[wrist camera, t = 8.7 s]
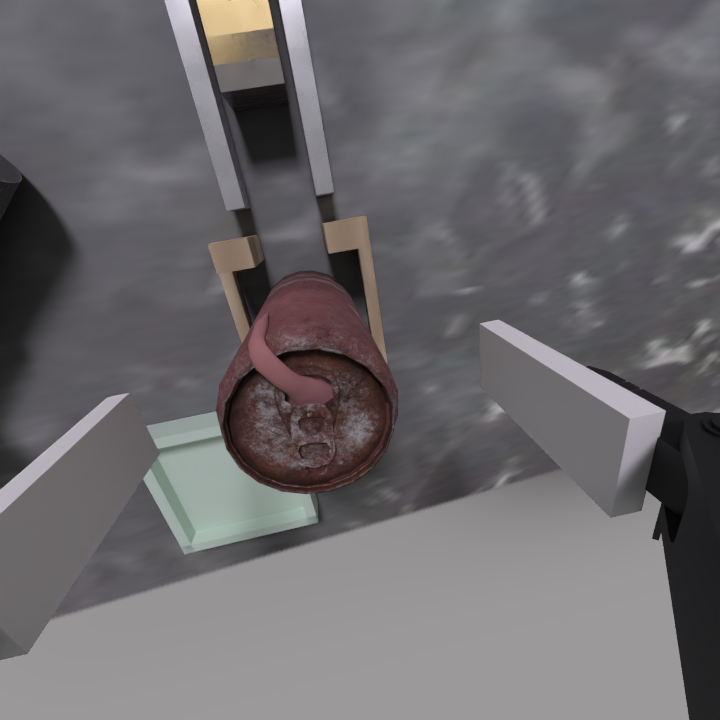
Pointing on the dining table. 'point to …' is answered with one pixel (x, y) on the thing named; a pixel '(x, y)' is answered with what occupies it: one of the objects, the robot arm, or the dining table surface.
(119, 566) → the dining table surface
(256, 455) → the can
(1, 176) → the laser sight
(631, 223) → the dining table surface
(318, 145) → the keeper guide
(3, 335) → the dining table surface
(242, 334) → the socket
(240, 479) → the pale green shallow tray
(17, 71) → the dining table surface
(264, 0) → the keeper bolt
